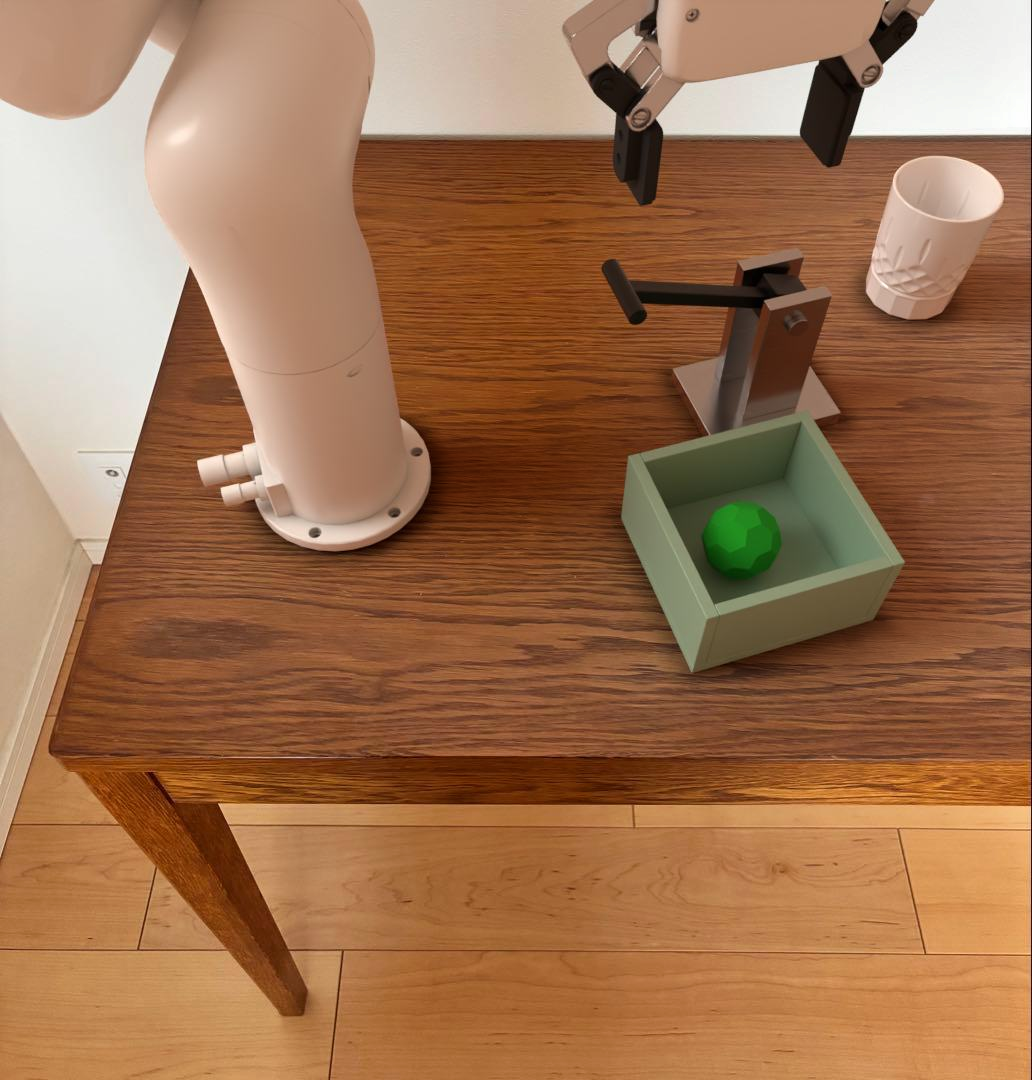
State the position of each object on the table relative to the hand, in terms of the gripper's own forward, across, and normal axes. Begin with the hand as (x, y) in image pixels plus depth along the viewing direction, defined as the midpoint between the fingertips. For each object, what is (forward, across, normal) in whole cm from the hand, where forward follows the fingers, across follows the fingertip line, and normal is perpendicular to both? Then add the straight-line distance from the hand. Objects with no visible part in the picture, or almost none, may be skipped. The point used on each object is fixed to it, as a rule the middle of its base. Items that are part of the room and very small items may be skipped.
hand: (728, 169), depth 48 cm
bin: (+26, -2, +7) cm, 27 cm away
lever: (+15, -3, -6) cm, 17 cm away
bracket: (+26, -9, -6) cm, 28 cm away
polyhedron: (+25, -2, +7) cm, 26 cm away
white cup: (+26, -26, -13) cm, 39 cm away
